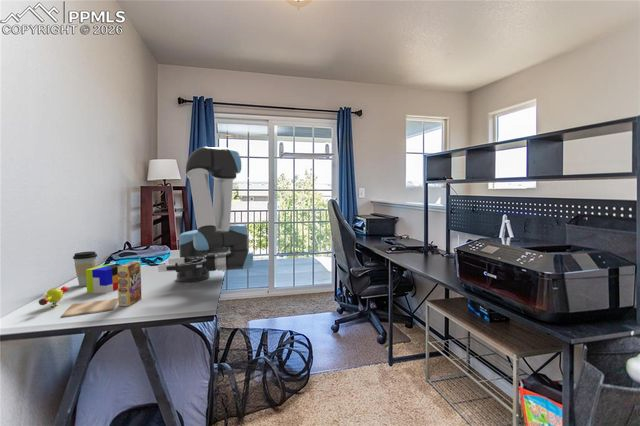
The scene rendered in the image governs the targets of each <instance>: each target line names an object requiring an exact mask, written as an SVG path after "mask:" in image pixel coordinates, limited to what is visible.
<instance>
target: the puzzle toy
mask: <svg viewBox="0 0 640 426" xmlns="http://www.w3.org/2000/svg"><path fill="white" fill-rule="evenodd" d="M120 265H121V264H102V265H98V266H96V267H94V268H90V269H86V283H87V286H86V292H87V293H91V294H109V293H112V292H115V291H118V266H120Z"/></svg>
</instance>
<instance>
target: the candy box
mask: <svg viewBox="0 0 640 426" xmlns="http://www.w3.org/2000/svg"><path fill="white" fill-rule="evenodd" d="M141 264H142V263H141V261H139V260H138V261H137V260H136V261H134V260H133V261H129V262H125V263H124V264H119V265H120V266H118V289H117V293H118V294H117V295H118V297H117V298H118V301H117V302H118V307H130V306H132V305H133V304H135V303H137V302H138V301H140V300H142V298H143V297H142V270H141V267H142V266H141ZM136 301H137V302H136Z"/></svg>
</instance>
